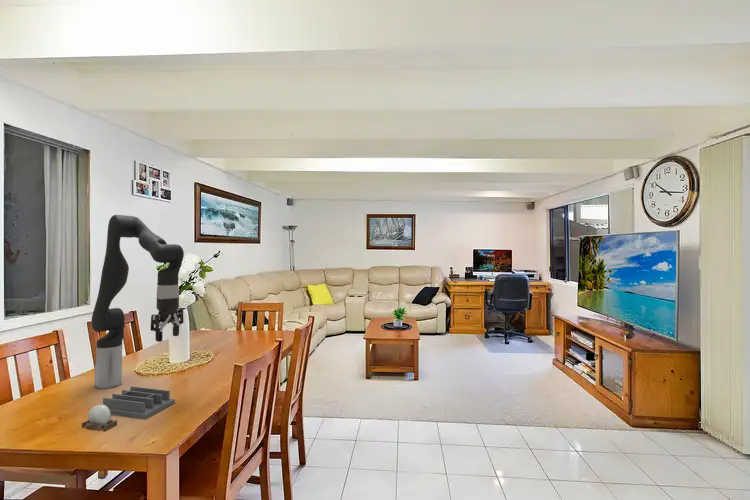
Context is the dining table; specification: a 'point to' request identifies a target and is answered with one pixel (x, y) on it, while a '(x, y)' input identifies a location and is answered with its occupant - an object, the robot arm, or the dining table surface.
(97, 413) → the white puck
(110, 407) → the rack
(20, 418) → the dining table surface
